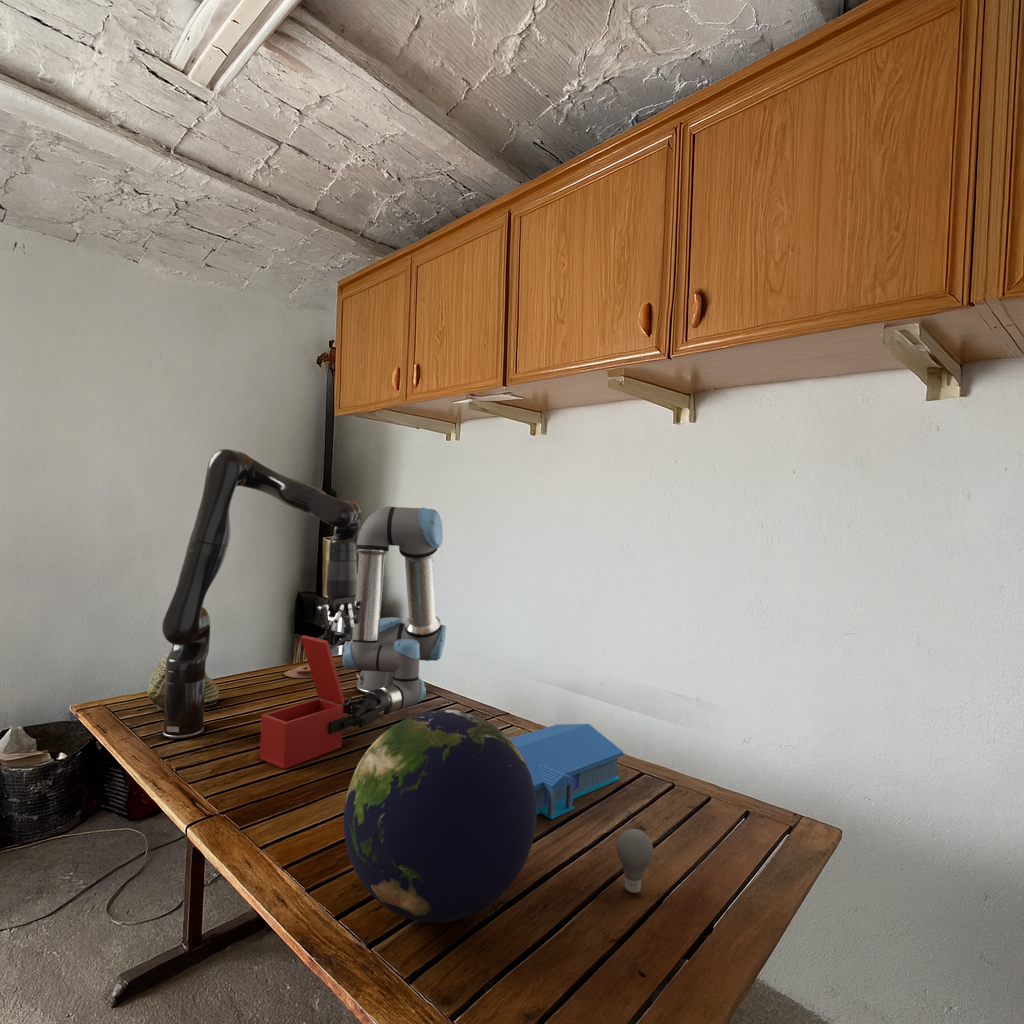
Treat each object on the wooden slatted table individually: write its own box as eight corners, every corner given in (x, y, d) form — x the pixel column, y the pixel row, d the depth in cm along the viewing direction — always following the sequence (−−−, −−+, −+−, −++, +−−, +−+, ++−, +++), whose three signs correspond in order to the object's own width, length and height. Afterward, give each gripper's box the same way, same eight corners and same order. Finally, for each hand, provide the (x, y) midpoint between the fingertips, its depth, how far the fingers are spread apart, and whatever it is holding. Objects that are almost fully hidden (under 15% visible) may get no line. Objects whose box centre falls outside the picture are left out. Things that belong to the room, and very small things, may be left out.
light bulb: (610, 879, 108) (613, 822, 108) (644, 879, 109) (647, 822, 109) (619, 902, 102) (622, 840, 102) (655, 901, 103) (658, 840, 103)
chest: (284, 769, 146) (285, 723, 146) (259, 758, 151) (261, 714, 151) (341, 747, 160) (343, 705, 160) (317, 738, 165) (319, 697, 165)
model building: (505, 839, 120) (507, 787, 120) (430, 791, 138) (432, 746, 138) (631, 784, 146) (633, 741, 146) (555, 749, 164) (556, 711, 164)
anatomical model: (279, 664, 218) (297, 657, 229) (279, 676, 218) (296, 668, 229) (314, 668, 215) (331, 660, 227) (314, 680, 216) (330, 671, 227)
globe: (296, 934, 92) (304, 728, 91) (406, 836, 119) (412, 678, 119) (484, 1004, 80) (494, 770, 80) (557, 878, 108) (565, 703, 108)
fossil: (144, 707, 182) (145, 655, 182) (212, 696, 194) (213, 647, 194) (151, 716, 175) (153, 662, 175) (221, 703, 188) (223, 653, 188)
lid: (324, 642, 154) (349, 626, 161) (300, 636, 159) (325, 621, 166) (342, 704, 160) (365, 686, 166) (318, 696, 165) (341, 679, 171)
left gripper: (329, 581, 156) (326, 650, 156) (372, 576, 168) (370, 640, 168) (309, 578, 160) (307, 645, 160) (352, 574, 172) (350, 636, 172)
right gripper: (409, 724, 172) (345, 749, 153) (353, 706, 184) (288, 728, 165) (410, 696, 172) (347, 718, 153) (354, 680, 184) (289, 699, 165)
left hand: (339, 642), depth 164 cm, fingers open, 5 cm apart
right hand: (316, 723), depth 159 cm, fingers closed on chest, 9 cm apart
